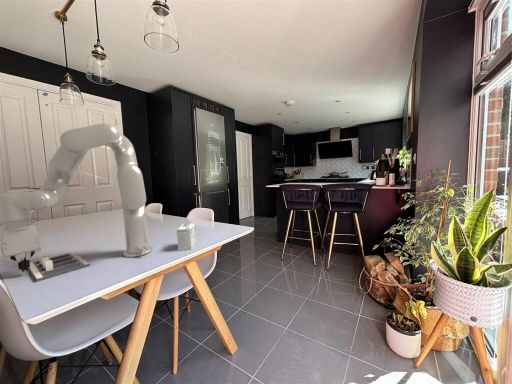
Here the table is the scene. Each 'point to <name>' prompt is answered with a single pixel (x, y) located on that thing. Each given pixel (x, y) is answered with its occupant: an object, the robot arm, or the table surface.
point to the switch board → (57, 266)
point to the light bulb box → (186, 236)
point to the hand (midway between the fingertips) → (24, 269)
